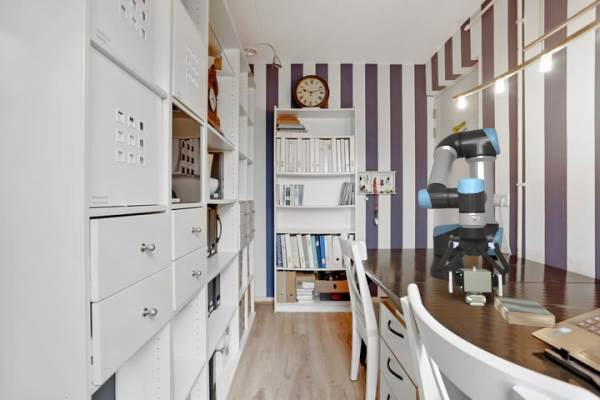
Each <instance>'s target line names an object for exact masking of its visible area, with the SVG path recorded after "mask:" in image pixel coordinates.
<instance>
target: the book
mask: <svg viewBox="0 0 600 400" xmlns="http://www.w3.org/2000/svg"><path fill="white" fill-rule="evenodd" d="M493 306H494V308H495V309H496V310H497V312H498V313H499V314H500V315H501V316H502V318H503V320H505V321H506V322H507V324H508V325H509V324H510V325H520V326H530V327H537V328H538V327H540V328H548V327H549V326H553V325H555V326H556V316H555V315H554V314H553V313H551V312H550V311H548V310H547V309H546V308H545V307H543V306H542V305H540V304H539V303H538V302H537V301H535V300H534V299H531V298H521V297H520V298H519V297H506V296H494V297H493Z"/></svg>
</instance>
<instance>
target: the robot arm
mask: <svg viewBox="0 0 600 400" xmlns="http://www.w3.org/2000/svg"><path fill="white" fill-rule="evenodd" d="M500 154H501V149H500V143H499V138H498V133H497V130H496V128H493V127H487V128H479V129H478V128H477V129H472V130H465V131H464V130H463V131H459V132H458V131H457V132H454V133H450V134H448V135H447V136H446V137H444V138H443V139H441V141H439V143H438V144H437V145H436V146H435V148H434V151H433V155H432V156H433V164H432V167H431V170H430V174H429V179H428V182H427V186H426V188H423V189H420V190H419V191H418V192H417V203H418V206H419V208H420V209H426V210H428V209H429V210H436V209H437V210H438V209H439V210H441V209H443V210H444V209H445V210H447V209H458V223H449V224H441V225H436V226H434V228H433V230H432V240H433V242H432V246H433V260H432V263H431V266H430V269H429V275H430V276H431V275H432V276H431V277H433V276H434V278H438V279H444V281H445V282H448V292H449V293H450V294H451V293H453V273H456V271H457V269H467V267H466V265H465V262H464V257H465V256H468V257H472V256H475V257H481V256H482V257H483V258H485V259H486V260H487V261H488V262H489V263H490V264H491V265H492V266H493V267H494V269H495V270H497V271H498V272H496V273H495V274H496V276H497V278H498V287H497V288H496V295H498V297H503V286H504V285H506V283H507V282H506V275H507V274H512V273H513V270H512V267H511V265H510V264H509V262H508V261H507V259H506V257H505V256H504V254H503V253H502V243H503V235H504V228H503V227H502V226H500V223H499V221H497V220H496V219H495V199H494V171H493V170H494V169H493V167H494V165H493V164H494V162H495V161H496V160H497V156H498V155H500ZM457 159H465V160H464V161H465V162H466V163H467V164H468V165H469V167H468V168H469V177H468V178H462V179H459V180H458V181H457V187H449V186H450V181H451V177H452V171H453V165H454V162H455V161H456V160H457ZM491 256H496V257H497V259H498V260H499V262H500V263H501V265H502V266H503V268H502V267H501V266H500V265H499V264H498V262H496V261H495V260H494V258H493V257H491Z"/></svg>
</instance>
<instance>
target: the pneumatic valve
mask: <svg viewBox="0 0 600 400" xmlns="http://www.w3.org/2000/svg"><path fill="white" fill-rule="evenodd" d="M452 284H453V285H454V287H457V289H459V290H460V291H462V292H466V295H465V298H464V299H465V303H467V304H469V305H470V306H471V307H485V304H486V302H487V299H486V296H484V295H483V293H495V292H494V291H495V289H497V287H498V278H497V276H496V273H494V272H493V271H491V270H489V269H487V268H477V266H472V268H466V269H457V271H456V273H453V280H452Z"/></svg>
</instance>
